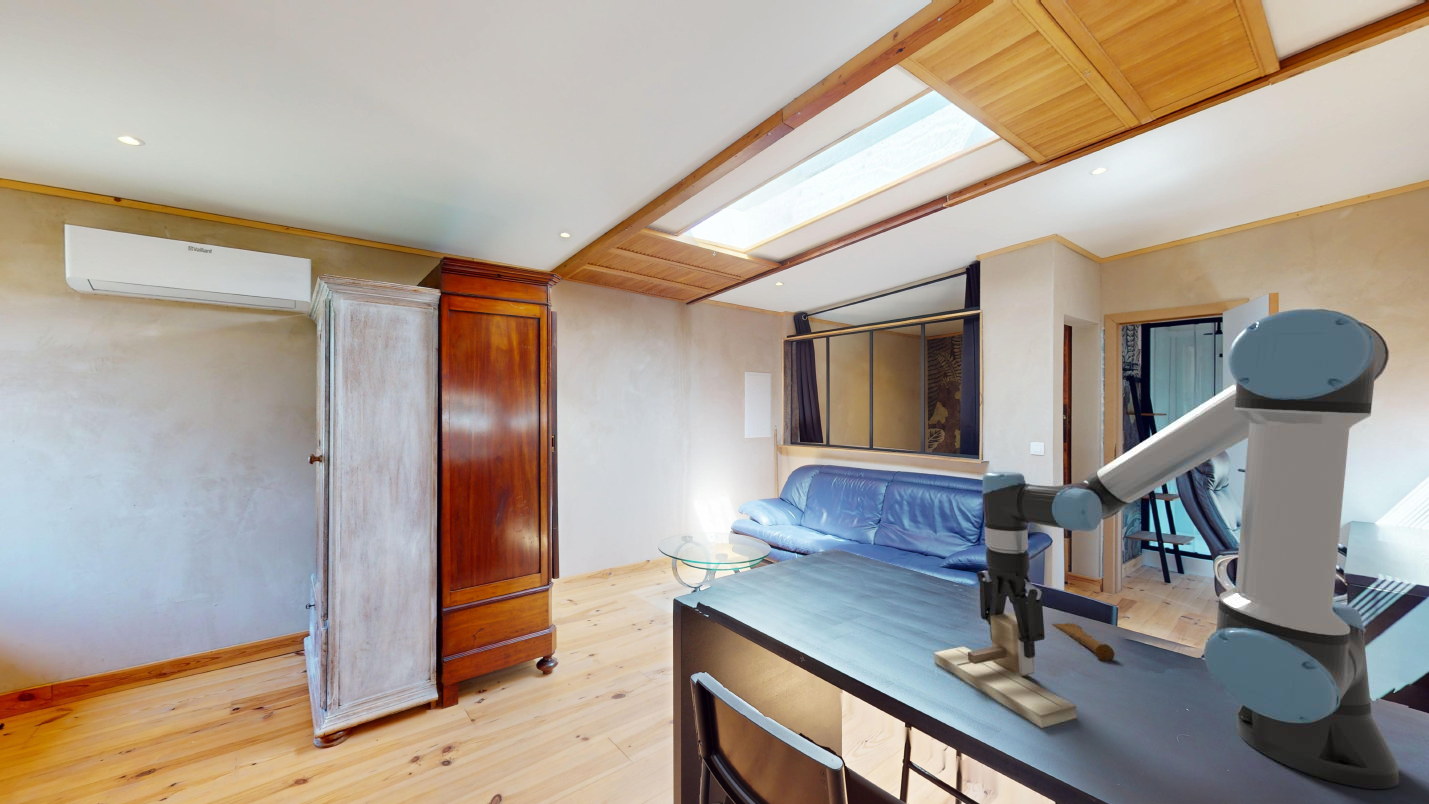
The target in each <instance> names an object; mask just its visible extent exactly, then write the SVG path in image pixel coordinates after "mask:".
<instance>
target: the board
mask: <svg viewBox="0 0 1429 804" xmlns="http://www.w3.org/2000/svg"><path fill="white" fill-rule="evenodd" d="M970 651H972V650H971V649H970V648H968V647H966V646H959V647H954V648H949V649H945V650H940V651H935V652H933V656H934V658H933V660H934V661H933V662H934V663H935V664H937V665H939V666H940V667H942V669H945V670H946V671H947V672H950V673H951V674H953V675H954V676H956V677H958V678H960V679H962V680H963V681H964V682H966V683H968V684H969V685H971V686H972V687H973V688H976V689H977V690H979V691H980V692H982V693H983V694H985V695H987V696H989V697H990V698H992V699H994V700H996V701H997V702H998V703H1000V704H1002V705H1004V706H1005V707H1007V708H1008V709H1010V710H1012V711H1013V712H1015V713H1016V714H1018V715H1020V716H1021V717H1023V718H1025V719H1026V720H1027V721H1030V722H1031V723H1033V724H1035V725H1036V726H1038V727H1039V728H1041V729H1042V728H1046V727H1050V726H1054V725H1057V724H1059V723H1060V724H1061V723H1063V722H1067V721H1071V720H1074V719H1077V708H1076V707H1077V705H1075V704H1073V703H1071V702H1069V701H1068V700H1066V699H1064V698H1062V697H1061V696H1058V695H1056V694H1054V693H1052V692H1050V691H1048V690H1047V689H1045V688H1043V687H1041V686H1039V685H1038V684H1036V683H1034V682H1032V681H1030V680H1029V679H1026V678H1025V677H1023V676H1019V675H1017V674H1015V673H1013V672H1011V671H1009V670H1007V669H1005V668H1004V667H1002V666H1000V665H998V664H996V663H994V662H993V660H991V661H987V662H982V663H978V664H974V663H972V662H970V661H968V652H970Z"/></svg>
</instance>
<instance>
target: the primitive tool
mask: <svg viewBox="0 0 1429 804" xmlns="http://www.w3.org/2000/svg"><path fill="white" fill-rule="evenodd" d="M1051 625H1052V626H1053V627H1054V628H1056V629H1058V630H1059V631H1060V632H1062V633H1064V634H1066V635H1067V636H1069V637H1071V638H1072V639H1073V640H1074V641H1076V642H1078V643H1079V644H1081V645H1083V646H1084V647H1086V648H1087V649H1088V650H1090V651H1091V652H1093V653H1094V655H1095V656H1096V658H1097V659H1098V660H1100V661H1112V660H1113V659H1114V658H1115V655H1116V653H1115V651H1114V649H1113V648H1112V647H1111V646H1110V645H1109V644H1107V643H1101V642H1100V641H1097V640H1096V639H1095V638H1094V637H1092V636H1091V635H1089V634H1088V633H1087V632H1085V631H1084V630H1083V629H1082V627H1081V626H1080V625H1078V624H1075V623H1073V622H1066V623H1052V624H1051Z"/></svg>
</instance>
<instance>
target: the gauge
mask: <svg viewBox="0 0 1429 804" xmlns="http://www.w3.org/2000/svg"><path fill="white" fill-rule="evenodd" d="M1027 634H1028V633H1027ZM991 635H992V640H991V647H990V646H989V647H986V648H981V649H976V650H971V651H970V652H968V661H970V662H972V663H974V664H978V663H982V662H987V661H992V662H994V663H996V664H998V665H1000V666H1002V667H1004V668H1005V669H1007V670H1009V671H1011V672H1013V673H1015V674H1017V675H1019V676H1021V677H1025V676H1029V675H1033V674H1035V664H1034V663H1035V660H1034V657H1033V658H1032V660H1033V672H1032V673H1028V674H1024V675H1022V674H1020V673H1019V657H1018V640H1017V639H1018V638H1021V635H1020V631H1019V627H1018V623H1017V620H1016V616H1015V613H1014V614H1013V613H1010V612H1006V613H1005V612H1004V614H999V615H994V616H991V634H990V636H991Z"/></svg>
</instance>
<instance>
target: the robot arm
mask: <svg viewBox="0 0 1429 804" xmlns="http://www.w3.org/2000/svg"><path fill="white" fill-rule="evenodd" d="M1227 357H1228V358H1227V361H1228V362H1227V364H1228V367H1229V370H1230V373H1231V375H1232V377H1233V379H1234V382H1233V384H1232V385H1230V386H1228V387H1226V388H1225V389H1224V390H1221V392H1219V393H1217V394H1216V395H1214V396H1212V397H1211V398H1209V399H1208V400H1205V402H1203V403H1201V404H1200V405H1199V406H1197V407H1195V408H1194V409H1192V410H1191V411H1189V412H1188V413H1186V414H1184V415H1183V416H1181V417H1180V418H1178V419H1176V420H1175V421H1173V422H1172V423H1170V424H1169V425H1167V426H1166V427H1164V428H1163V429H1161V430H1159V431H1158V432H1156V433H1155V434H1153V435H1152V436H1150V437H1148V438H1146V439H1145V440H1143V441H1142V442H1140V443H1139V444H1137V445H1136V446H1134V447H1132V448H1131V449H1130V450H1128V451H1126V452H1125V453H1123V454H1121V455H1120V456H1118V457H1117V458H1116V459H1114V460H1112V461H1111V462H1109V463H1107V464H1106V465H1104V466H1103V467H1101V468H1100V469H1098V470H1097V471H1095V472H1093V473H1092V474H1090V475H1088V476H1087V477H1086V478H1084V479H1083V480H1081V481H1079V482H1075V483H1069V484H1063V485H1054V486H1053V485H1041V484H1040V485H1037V484H1030V483H1026V480H1025V479H1026V478H1025V476H1024V475H1023V473H1020V472H1015V471H1014V472H1013V471H990V472H986V473H984V475H983V476H982V492H981V495H982V501H983V502H982V503H983V504H982V505H983V516H984V518H983V519H984V545H985V546H986V548H985V562H986V566H987V567H988V569H987V570H983V571H977V572H976V576H977V580H978V583H979V601H980V603H979V607H980V608H979V609H980V618H981V620H985V621H986V622H987V623H988V625H989V631H990V632H989V633H990V634H989V635H990V640H991V641H992V635H991V616H994V615H999V614H1005V607H1006V604H1007V599H1008V600H1009V602H1010V604H1012V607H1013V612H1014V615H1015V616H1016V620H1017V623H1018V627H1019V631H1020V635H1021V638H1018V639H1017V640H1018V657H1019V673H1020V674H1022V675H1024V674H1028V673H1032V672H1033V660H1032V658H1033V659H1034V658H1036V648H1035V647H1036V646H1035V643H1036V642H1039V641H1043V640H1045V638H1046V636H1045V622H1044V611H1043V599H1044V596H1045V590H1044V589H1043V588H1041V587H1038V588H1037V587H1036V586H1035V585H1033V584H1032V583H1031V581H1030V578H1029V576H1028V575H1029V574H1028V572H1029V570H1030V557H1029V556H1030V555H1029V554H1030V553H1029V552H1028V551H1027V550H1028V549H1029V539H1028V524H1035V525H1040V526H1046V527H1052V528H1053V527H1054V528H1058V529H1063V530H1064V529H1065V530H1067V531H1080V532H1081V531H1082V532H1091V531H1095V530H1096V529H1098V525H1100V523H1101V521H1102V520H1107V519H1109V518H1111V517H1113V516H1115V515H1117V514H1118V513H1120V512H1121V510H1123V508H1124V507H1127V506H1128V505H1130V504H1131V503H1133V502H1135V501H1137V500H1138V499H1140V498H1142V497H1144V496H1146V495H1147V494H1150V493H1151V492H1153V491H1155V490H1156V489H1158V488H1160V487H1162V486H1163V485H1165V484H1167V483H1169V482H1171V481H1173V480H1174V479H1176V478H1178V477H1180V476H1182V475H1183V474H1185V473H1187V472H1188V471H1191V470H1192V469H1194V468H1196V467H1197V466H1200V465H1201V464H1203V463H1205V462H1207V461H1208V460H1210V459H1212V458H1214V457H1215V456H1218V455H1219V454H1221V453H1223V452H1224V451H1226V450H1228V449H1230V448H1232V447H1234V446H1235V445H1237V444H1239V443H1241V442H1243V441H1244V440H1246V439H1247V447H1246V457H1245V459H1246V461H1245V471H1244V472H1245V473H1244V482H1243V483H1244V485H1243V495H1242V496H1243V497H1242V506H1241V508H1242V509H1241V516H1240V517H1241V518H1240V532H1239V542H1238V543H1239V544H1238V555H1237V565H1236V567H1237V568H1236V576H1235V577H1236V579H1235V587H1234V588H1231V589H1228V590H1226V591H1223V592H1221V593H1219V597H1218V607H1217V617H1216V618H1217V619H1216V629H1215V631H1214V632H1212V634H1210V636H1209V637H1207V641H1206V643H1205V645H1204V651H1203V656H1204V663H1205V666H1206V667H1207V670H1208V672H1209V673H1210V675H1211V677H1212V679H1213V681H1215V682H1216V683H1217V684H1218V685H1219V686H1220V688H1221V689H1223V690H1224V692H1225V693H1226V694H1227V695H1228V696H1229V697H1231V698H1232V699H1234V700H1235V701H1236V702H1238V704H1240V706H1239V709H1238V711H1237V714H1236V727H1237V733H1238V734H1239V736H1240V737H1241V738H1242V739H1243V741H1244V742H1245V743H1247V744H1248V745H1250V746H1251V747H1252V748H1254V749H1255V750H1257V751H1258V752H1260V753H1262V754H1264V755H1265V756H1267V757H1269V758H1270V759H1273V760H1274V761H1276V762H1279V763H1281V764H1283V765H1285V766H1287V767H1290V768H1293V769H1294V770H1297V771H1300V772H1302V773H1305V774H1308V775H1310V776H1314V777H1315V778H1316V777H1317V778H1320V779H1323V780H1327V781H1329V782H1333V783H1338V784H1341V785H1346V786H1351V787H1355V788H1362V789H1373V790H1374V789H1375V790H1386V789H1392V788H1395V787H1397V786H1398V785H1399V783H1400V776H1399V775H1400V774H1399V766H1398V763H1397V760H1396V758H1395V755H1393V753H1392V752H1393V751H1391V748H1390V747H1389V746H1388V743H1387V742H1386V740H1385V737H1384V736H1383V734H1382V732H1381V730H1380V728H1379V726H1378V725H1377V723H1376V721H1375V719H1374V717H1373V713H1372V705H1371V704H1372V703H1371V691H1370V685H1369V684H1370V683H1369V675H1368V665H1367V664H1368V663H1367V653H1366V645H1365V636H1364V635H1365V633H1366V631H1367V630H1366V629H1367V628H1365V626H1364V624H1363V620H1362V616H1361V614H1360V612H1359V611H1358V610H1357V609H1356V608H1355V607H1352V606H1350V605H1347V604H1344V603H1341V602H1337V601H1334V595H1335V584H1336V575H1337V564H1338V554H1339V542H1340V531H1341V521H1342V512H1343V511H1342V510H1343V500H1344V491H1345V490H1344V489H1345V479H1346V465H1347V459H1348V458H1347V457H1348V446H1349V437H1350V436H1349V435H1350V429H1351V428H1352V427H1353V426H1354V425H1356V424H1358V423H1360V422H1362V421H1363V420H1366V419H1367V418H1369V417H1371V416H1372V406H1373V405H1372V404H1373V399H1374V386H1375V381H1376V380H1378V378H1379V377H1380V376H1381V375H1382V374H1383V373H1384V371H1385V369H1386V367H1387V365H1388V362H1389V360H1390V352H1389V348H1388V344H1387V342H1386V340H1385V339H1384V337H1383V336H1382V335H1381V334H1380V333H1379V332H1378V331H1377V330H1376V329H1374V328H1372V327H1371V326H1369V325H1368V324H1366V323H1364V322H1361V321H1359V320H1357V319H1356V318H1354V317H1353V316H1350V315H1348V314H1346V313H1345V314H1344V313H1343V312H1340V311H1335V310H1329V309H1325V308H1324V309H1322V308H1320V309H1319V308H1317V309H1311V308H1303V309H1302V308H1301V309H1300V308H1299V309H1290V310H1284V311H1280V312H1276V313H1273V314H1269V315H1267V316H1264V317H1262V318H1260V319H1258V320H1256V321H1255V322H1253V323H1251V324H1249V325H1248V326H1246V328H1244V329H1243V330H1242V331H1241V332H1240V333H1239V334H1238V335H1237V336H1236V337H1235V339H1234V340H1233V341H1232V344H1231V345H1230V347H1229V351H1228V356H1227ZM1007 597H1008V598H1007ZM1027 633H1028V634H1027Z"/></svg>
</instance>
